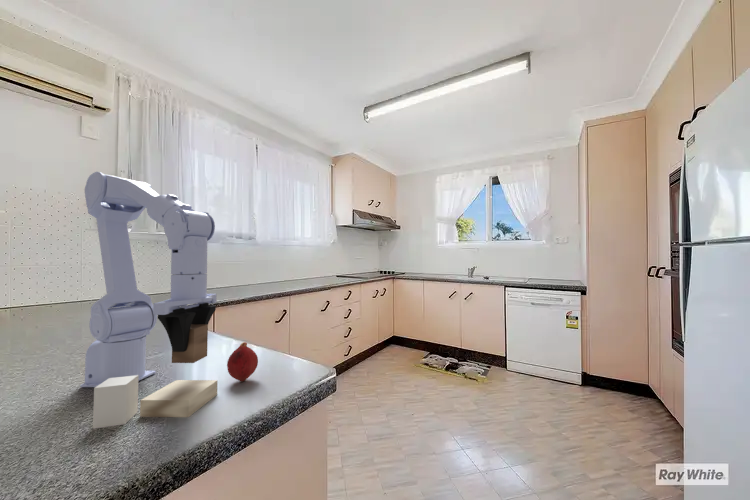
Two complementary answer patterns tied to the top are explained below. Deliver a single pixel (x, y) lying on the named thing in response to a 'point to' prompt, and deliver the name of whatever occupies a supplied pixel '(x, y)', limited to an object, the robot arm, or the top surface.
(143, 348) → the robot arm
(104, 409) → the offwhite block
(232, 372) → the onion
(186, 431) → the top surface
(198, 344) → the walnut block
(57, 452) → the top surface
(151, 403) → the beech slab
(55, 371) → the top surface
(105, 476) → the top surface
